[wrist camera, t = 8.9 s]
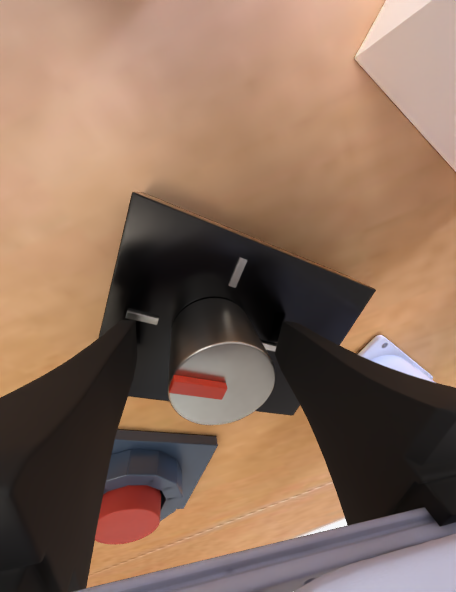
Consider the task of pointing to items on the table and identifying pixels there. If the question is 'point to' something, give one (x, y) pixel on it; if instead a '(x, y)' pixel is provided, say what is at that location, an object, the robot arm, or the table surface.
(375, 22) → the milk
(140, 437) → the button base
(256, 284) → the hob panel
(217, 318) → the dial
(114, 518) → the push knob
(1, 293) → the table surface
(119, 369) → the robot arm
